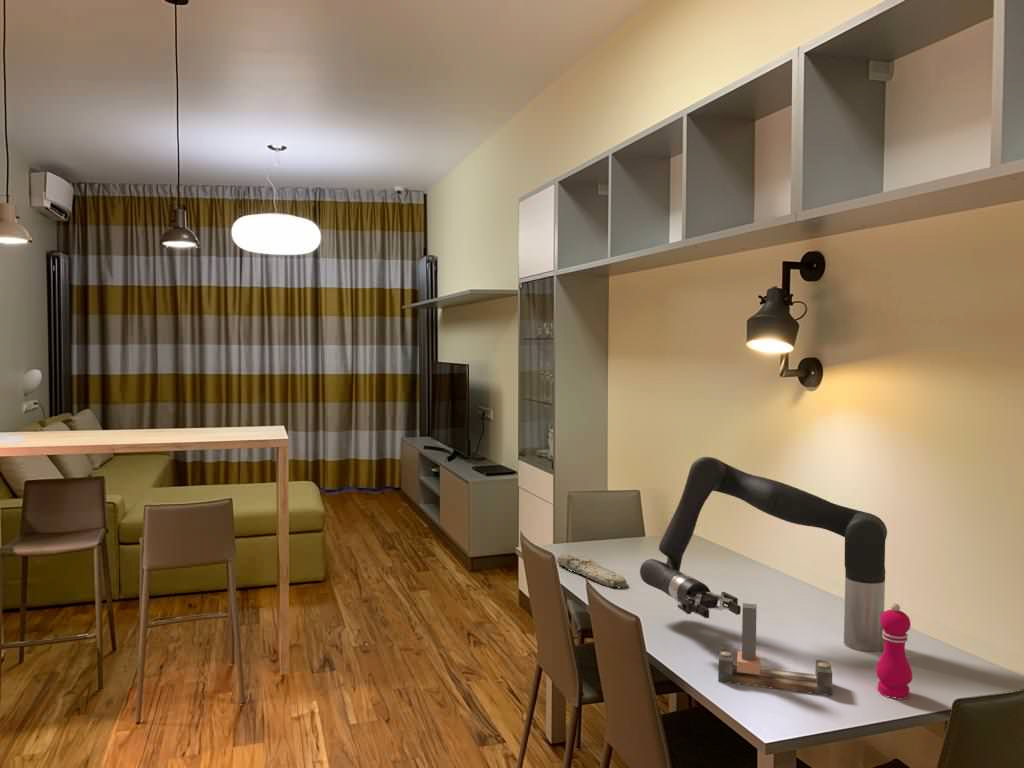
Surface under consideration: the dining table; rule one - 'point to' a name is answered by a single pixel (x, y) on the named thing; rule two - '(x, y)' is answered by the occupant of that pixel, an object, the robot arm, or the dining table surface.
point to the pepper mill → (894, 654)
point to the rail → (778, 676)
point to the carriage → (748, 642)
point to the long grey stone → (591, 570)
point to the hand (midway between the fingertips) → (723, 612)
